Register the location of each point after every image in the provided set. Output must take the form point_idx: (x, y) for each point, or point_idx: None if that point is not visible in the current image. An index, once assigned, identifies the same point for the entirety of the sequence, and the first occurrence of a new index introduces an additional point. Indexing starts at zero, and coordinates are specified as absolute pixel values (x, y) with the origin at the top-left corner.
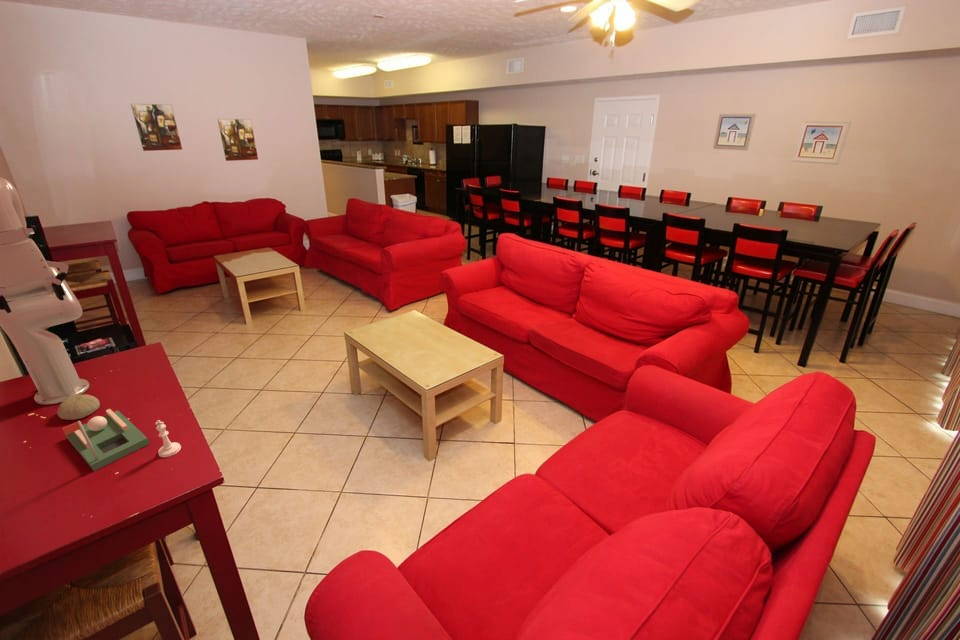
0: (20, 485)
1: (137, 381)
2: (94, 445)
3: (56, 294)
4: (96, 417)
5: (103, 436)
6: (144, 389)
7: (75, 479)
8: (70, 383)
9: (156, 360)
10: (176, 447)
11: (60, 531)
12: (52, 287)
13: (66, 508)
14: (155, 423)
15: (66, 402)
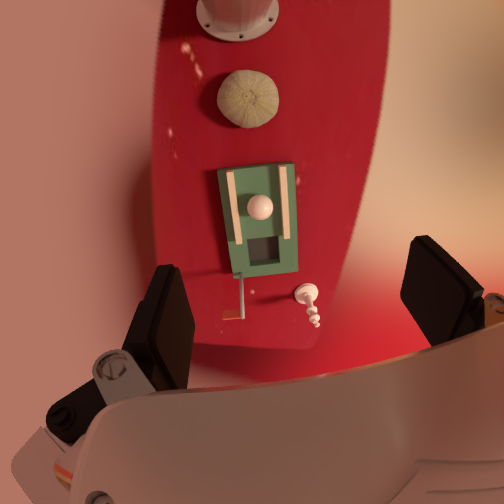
0: (165, 240)
1: (343, 65)
2: (244, 239)
3: (421, 276)
4: (263, 212)
5: (258, 226)
6: (344, 104)
7: (215, 272)
8: (254, 23)
9: (385, 22)
10: (312, 300)
11: (198, 331)
12: (451, 278)
13: (204, 309)
14: (312, 322)
15: (235, 97)
